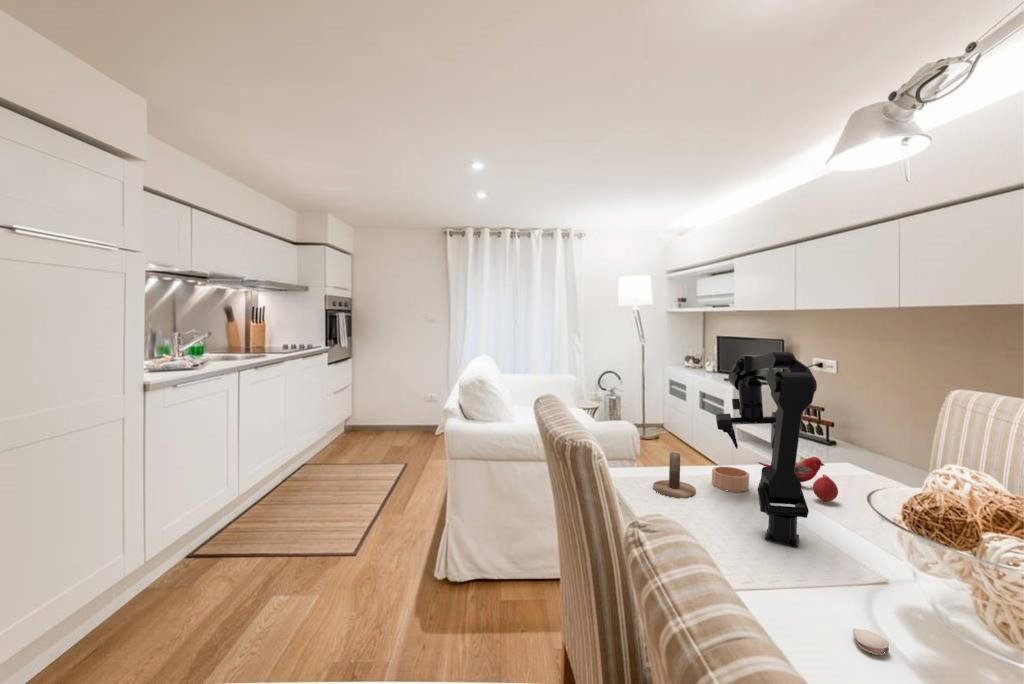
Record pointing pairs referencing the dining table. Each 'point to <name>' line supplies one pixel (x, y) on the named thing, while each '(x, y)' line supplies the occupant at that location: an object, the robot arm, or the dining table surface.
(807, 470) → the decorative bird figurine
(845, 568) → the dining table surface
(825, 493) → the onion
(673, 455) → the lid
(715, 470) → the bowl
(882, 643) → the beige oval flat piece
